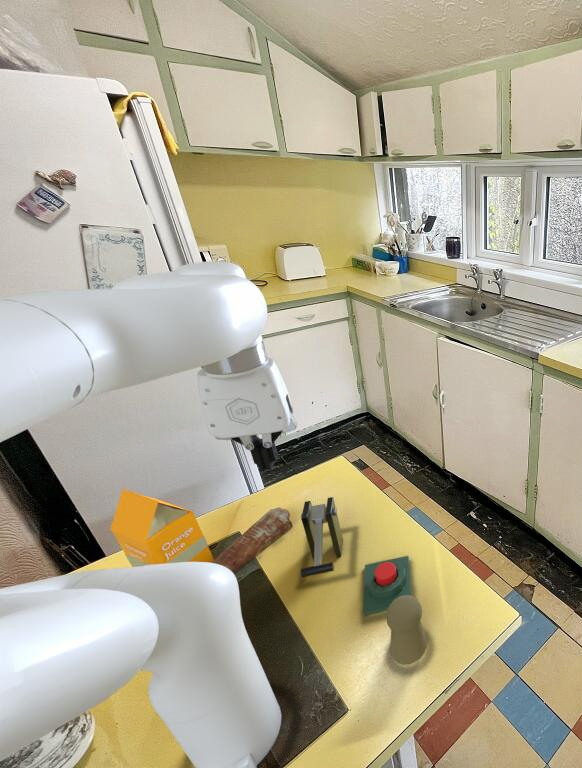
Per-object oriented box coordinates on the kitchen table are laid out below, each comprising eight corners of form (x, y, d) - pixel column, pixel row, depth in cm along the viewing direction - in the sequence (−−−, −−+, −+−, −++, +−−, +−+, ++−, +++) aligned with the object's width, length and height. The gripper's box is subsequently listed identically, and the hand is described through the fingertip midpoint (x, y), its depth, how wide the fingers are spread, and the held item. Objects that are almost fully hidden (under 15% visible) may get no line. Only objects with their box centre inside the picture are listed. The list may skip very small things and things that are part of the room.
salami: (298, 530, 87) (292, 510, 85) (207, 606, 72) (197, 585, 69) (277, 520, 89) (270, 501, 87) (184, 592, 74) (173, 571, 71)
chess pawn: (436, 649, 66) (432, 604, 61) (405, 680, 62) (398, 635, 57) (413, 625, 69) (407, 581, 64) (382, 653, 65) (373, 608, 60)
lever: (334, 572, 72) (331, 568, 70) (303, 579, 70) (299, 575, 69) (335, 507, 79) (332, 502, 77) (306, 512, 78) (303, 507, 76)
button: (397, 583, 72) (396, 576, 71) (375, 588, 71) (374, 581, 71) (396, 566, 75) (395, 559, 75) (375, 571, 74) (374, 564, 74)
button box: (413, 609, 72) (410, 594, 70) (364, 621, 70) (361, 606, 68) (409, 563, 80) (407, 548, 78) (366, 572, 78) (363, 558, 76)
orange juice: (185, 554, 81) (147, 474, 72) (218, 567, 79) (183, 486, 70) (142, 587, 74) (94, 504, 65) (176, 603, 72) (131, 518, 63)
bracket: (352, 575, 78) (341, 526, 72) (300, 587, 75) (284, 536, 69) (355, 528, 88) (345, 482, 82) (309, 537, 86) (296, 490, 80)
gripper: (157, 373, 51) (204, 489, 59) (290, 362, 54) (316, 472, 63) (181, 351, 57) (221, 458, 65) (299, 342, 61) (322, 444, 69)
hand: (268, 464), depth 64 cm, fingers closed
